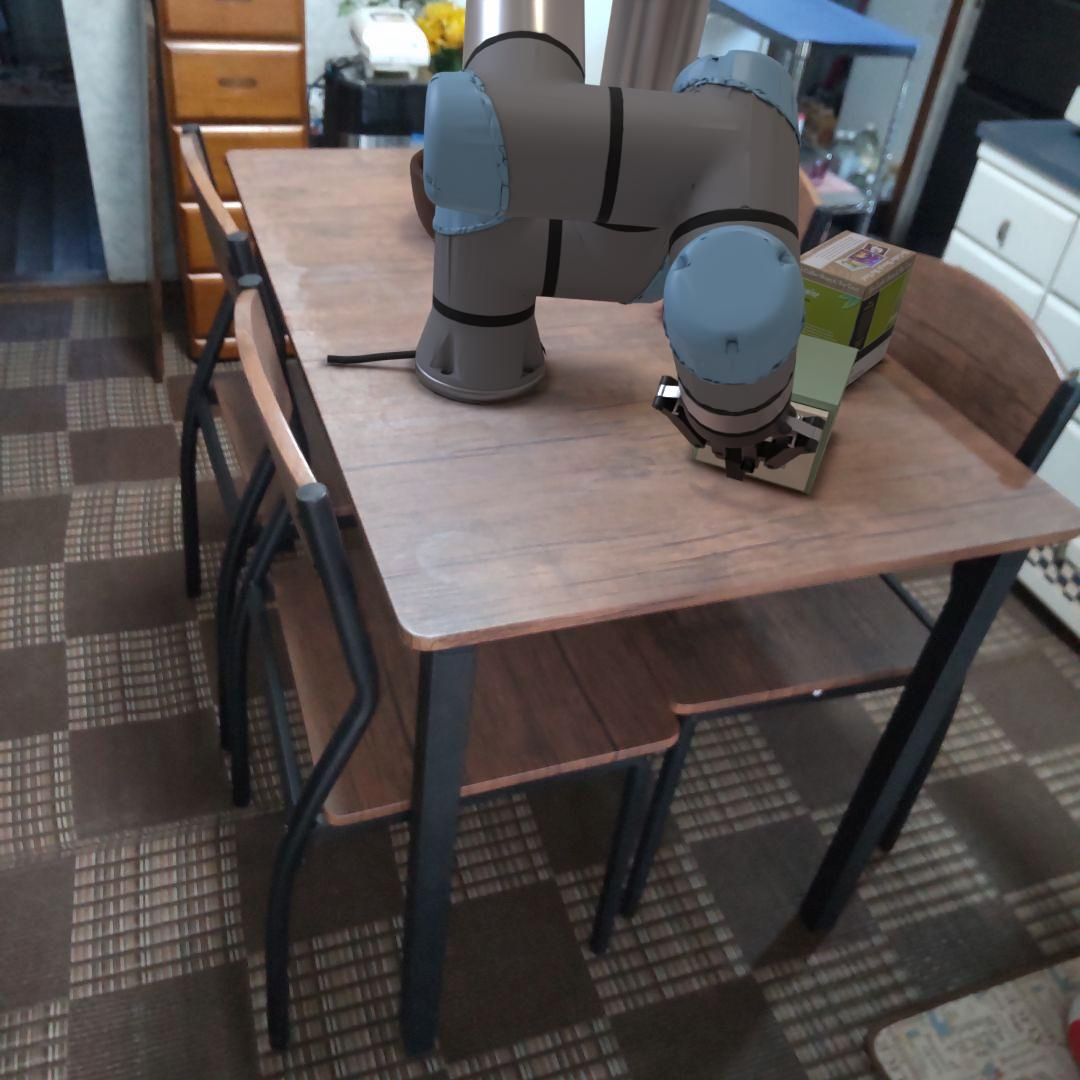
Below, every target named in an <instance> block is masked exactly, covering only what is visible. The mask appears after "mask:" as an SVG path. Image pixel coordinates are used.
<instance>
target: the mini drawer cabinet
mask: <svg viewBox="0 0 1080 1080" xmlns="http://www.w3.org/2000/svg"><path fill="white" fill-rule="evenodd" d="M857 352H858V349H856V348H852V347H848V346H845V345H841V344H837V343H833V342H829V341H825V340H821V339H818V338H814V337H810V336H806V335H802V334H800V336H799V340H798V346H797V352H796V366H795V374H794V383H793V389H792V397H791V401H794V402H798V403H802V404H805V405H809V406H813V407H816V408H820V409H823V410H825V411H827V412H829V415H828V418H827V421H826V424H825V427H824V430H823V434H822V437H821V440H820V443H819V446H818V449H817V452H816V456H815V459H814V462H813V465H812V468H811V471H810V474H809V478H808V481H807V484H806V487H805V490H804V491H801V490H798V489H795V488H791V487H788V486H785V485H781V484H778V483H775V482H771V481H768V480H765V479H761V478H758V477H755V476H751V475H748V474H745V476H746V477H750V478H753V479H756V480H759V481H762V482H767V483H770V484H773V485H776V486H779V487H783V488H787V489H788V490H789V489H790V490H793V491H797V492H800V493H803V494H807V495H810V494H811V491H812V488H813V486H814V483H815V480H816V477H817V474H818V472H819V469H820V466H821V463H822V460H823V458H824V455H825V452H826V449H827V446H828V443H829V440H830V438H831V435H832V432H833V429H834V426H835V423H836V421H837V420H836V419H837V417H838V414H839V410H840V407H841V404H842V401H843V398H844V395H845V392H846V389H847V387H848V386H847V383H848V380H849V377H850V374H851V371H852V367H853V364H854V361H855V358H856V355H857ZM697 453H698V448H695V447H694V450H693V454H692V459H691V460H692V461H696V462H699V463H703V464H705V465H710V466H713V467H715V468H716V467H717V468H719V469H722V470H726V468H725V467H721V466H718V465H715V464H711V463H708V462H705V461H701V460H698V459H696V458H697Z"/></svg>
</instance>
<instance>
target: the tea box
mask: <svg viewBox="0 0 1080 1080" xmlns="http://www.w3.org/2000/svg"><path fill="white" fill-rule="evenodd" d="M917 254H918V252H916V251H913V250H910V249H908V248H904V247H900V246H897V245H894V244H891V243H888V242H885V241H881V240H879V239H874V238H871V237H869V236H865V235H864V234H863V235H862V234H859V233H857V232H854V231H850V230H849V229H846V230H844V231H842V232H839V234H836V235H834V236H833V237H831V238H829V239H828V240H826V241H824V242H822V243H821V244H819V245H817V246H815V247H813V248H812V249H810V250H808V251H806V252H804V253H802V254H800V271H801V275H802V280H803V282H804V287H805V300H804V307H805V310H806V314H805V322H804V327H803V330H802V331H801V333H800V334H802V335H806V336H810V337H814V338H818V339H821V340H825V341H829V342H833V343H837V344H841V345H845V346H848V347H852V348H856V349H858V352H857V355H856V358H855V361H854V364H853V367H852V371H851V374H850V377H849V380H848V383H847V386H846V387H848V386H849V385H850V384H851V383H853V382H854V381H856V380H857V379H858V378H859V377H861V376H863V374H865V373H866V372H867V371H869V370H870V369H871V368H873V367H874V366H875V365H877V364H878V363H879V362H881V361H882V360H883V359H884V358H885V357H886V354H887V351H888V347H889V345H890V342H891V339H892V334H893V331H894V328H895V326H896V322H897V319H898V316H899V312H900V309H901V306H902V303H903V301H904V296H905V294H906V290H907V287H908V283H909V280H910V277H911V274H912V271H913V268H914V264H915V261H916V257H917Z"/></svg>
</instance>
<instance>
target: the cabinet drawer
mask: <svg viewBox="0 0 1080 1080" xmlns="http://www.w3.org/2000/svg"><path fill="white" fill-rule="evenodd" d="M791 405H792V406H793V407H794V408H795V409H796V412H797V416H798V415H801V416H804V417H811V416H818V417H821V418H822V419H824V420H825V421H827V418H828V415H829V412H827V411H825V410H823V409H820V408H816V407H813V406H809V405H805V404H802V403H798V402H794V401H791ZM797 416H796V418H797ZM825 424H826V423H825ZM824 427H825V426H824ZM823 430H824V429H823ZM822 434H823V433H822ZM821 437H822V436H821ZM772 438H773V437H769V438H767V439H765V440H764V441H770V442H771V441H772ZM820 440H821V438H820ZM819 443H820V441H819ZM818 446H819V444H818ZM817 449H818V447H817ZM816 452H817V450H816ZM815 456H816V453H810V454H801V455H799V456H797V457H796V458H794V459H793V460H791V461H789V462H788V463H786V464H785V465H783V466H782V467H780V468H778V469H774V470H772V469H768V468H767V467H765V466H764V465H763V464H764V461H760V463H759V466H758V468H757V469H754V472H753V474H750V473H745V474H748V475H751V476H755V477H758V478H761V479H765V480H768V481H771V482H775V483H778V484H781V485H785V486H788V487H791V488H795V489H798V490H801V491H804V490H805V487H806V484H807V481H808V478H809V474H810V471H811V468H812V465H813V462H814V459H815ZM696 459H698V460H701V461H705V462H708V463H711V464H715V465H718V466H721V467H725V468H726V466H725V460H722V459H718V458H717V457H715V454H713V453H712V449H711V446H708V445H706V446H705V448H704V449H702V448H700V449H698V453H697V458H696Z"/></svg>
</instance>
